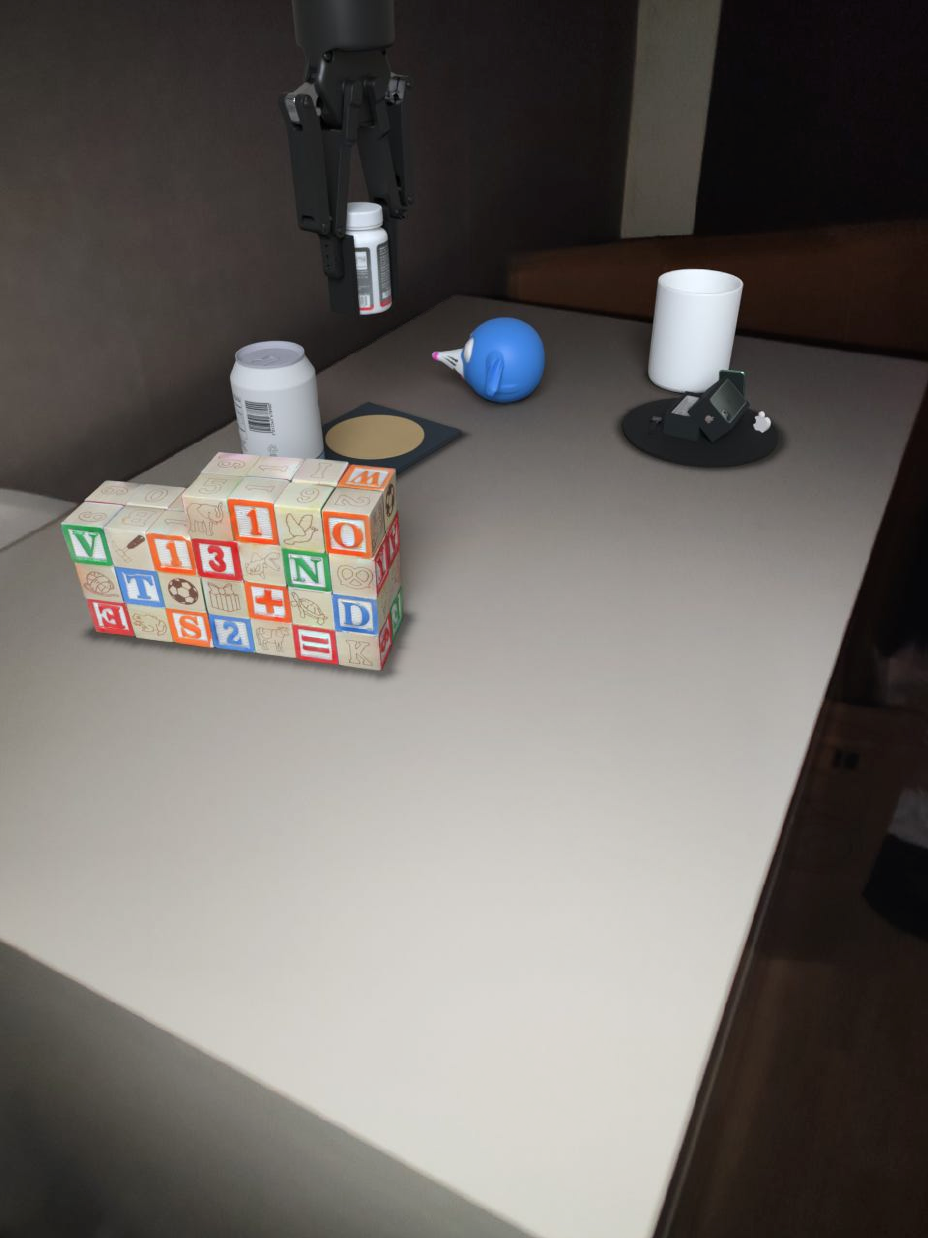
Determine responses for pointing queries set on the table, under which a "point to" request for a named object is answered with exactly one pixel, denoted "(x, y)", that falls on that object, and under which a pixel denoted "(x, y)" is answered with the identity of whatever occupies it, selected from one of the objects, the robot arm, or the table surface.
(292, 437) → the beverage can
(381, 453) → the mat
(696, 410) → the apple device display stand
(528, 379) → the blue mole toy
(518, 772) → the table surface
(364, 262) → the pill bottle
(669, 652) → the table surface
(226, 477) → the stack of blocks
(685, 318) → the mug
